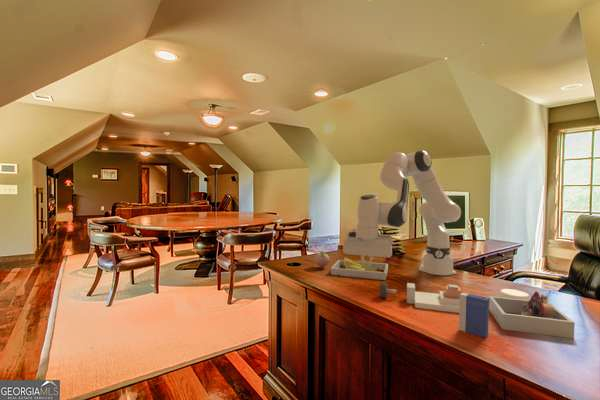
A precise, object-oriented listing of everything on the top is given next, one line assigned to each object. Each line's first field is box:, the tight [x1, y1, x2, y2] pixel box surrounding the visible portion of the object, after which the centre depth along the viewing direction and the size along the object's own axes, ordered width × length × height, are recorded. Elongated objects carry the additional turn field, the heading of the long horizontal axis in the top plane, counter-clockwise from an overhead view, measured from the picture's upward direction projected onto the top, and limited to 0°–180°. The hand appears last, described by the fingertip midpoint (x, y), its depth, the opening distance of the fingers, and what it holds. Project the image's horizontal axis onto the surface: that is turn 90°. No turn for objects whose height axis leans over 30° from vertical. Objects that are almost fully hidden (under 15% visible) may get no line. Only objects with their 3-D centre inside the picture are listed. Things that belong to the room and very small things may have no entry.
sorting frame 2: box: [488, 295, 576, 339], centre depth 107 cm, size 18×19×5 cm
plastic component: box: [343, 256, 378, 272], centre depth 171 cm, size 20×7×10 cm
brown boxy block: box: [444, 284, 462, 299], centre depth 122 cm, size 5×5×6 cm
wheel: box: [379, 282, 398, 299], centre depth 130 cm, size 6×7×6 cm
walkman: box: [458, 292, 490, 339], centre depth 99 cm, size 8×3×12 cm, turn 47°
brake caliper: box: [518, 290, 555, 319], centre depth 106 cm, size 11×11×12 cm
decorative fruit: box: [313, 250, 330, 269], centre depth 178 cm, size 9×8×10 cm
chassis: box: [406, 282, 463, 314], centre depth 124 cm, size 14×23×6 cm, turn 71°
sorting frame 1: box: [330, 259, 389, 281], centre depth 170 cm, size 21×28×4 cm
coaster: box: [499, 288, 530, 300], centre depth 129 cm, size 10×10×4 cm
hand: (366, 266), depth 132 cm, fingers closed
